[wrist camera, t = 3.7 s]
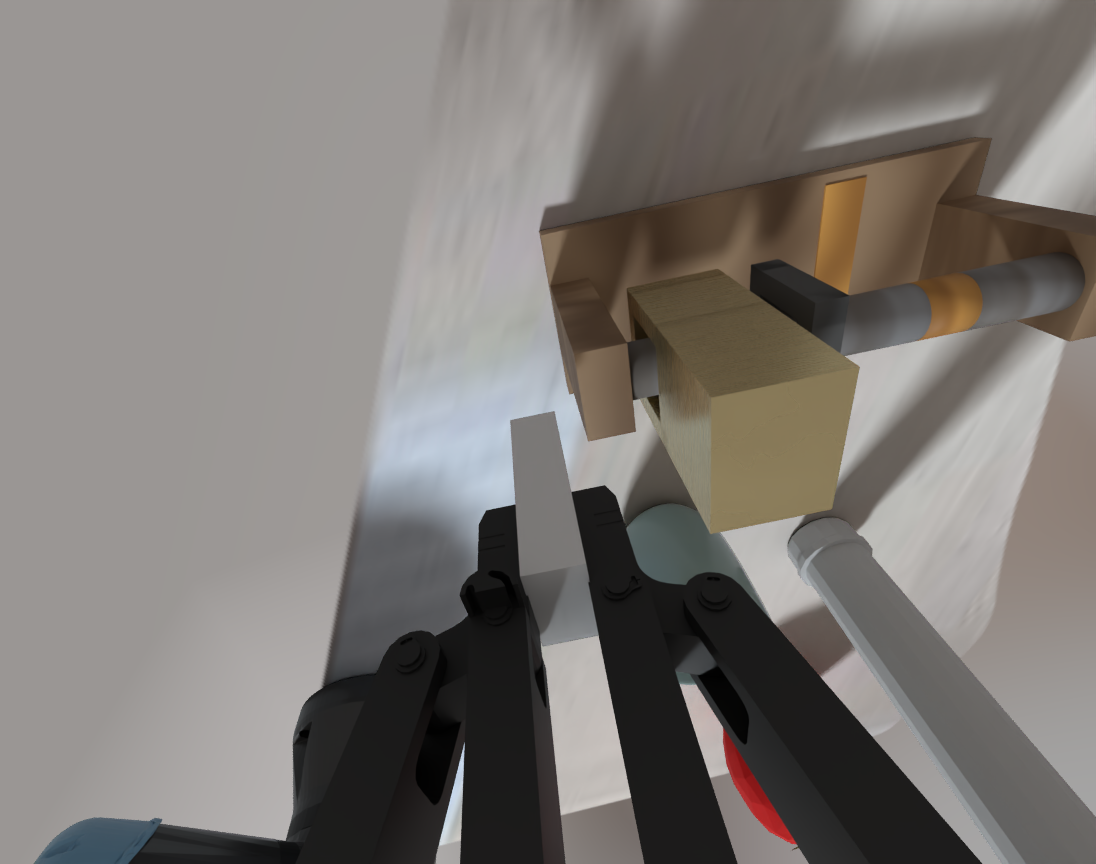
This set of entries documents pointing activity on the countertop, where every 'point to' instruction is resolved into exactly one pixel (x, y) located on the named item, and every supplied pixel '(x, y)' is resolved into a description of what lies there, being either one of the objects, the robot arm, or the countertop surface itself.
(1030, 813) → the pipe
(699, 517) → the cup
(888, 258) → the rail
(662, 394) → the sleeve
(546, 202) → the countertop surface
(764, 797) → the tomato
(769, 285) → the dark grey square ring
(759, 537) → the countertop surface
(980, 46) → the countertop surface
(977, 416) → the countertop surface
